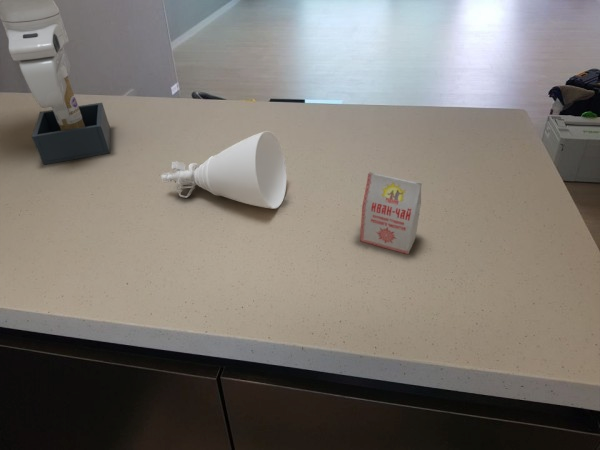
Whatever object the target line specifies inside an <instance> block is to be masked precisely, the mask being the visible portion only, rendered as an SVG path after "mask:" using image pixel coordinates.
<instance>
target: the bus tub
mask: <svg viewBox="0 0 600 450" xmlns="http://www.w3.org/2000/svg"><path fill="white" fill-rule="evenodd" d="M78 107H79V110H80V112H81V115H82V119H83V122H84V125H85V127H81V128H75V129H68V130H62V131H61V128H60V126H59V124H58V122H57V119H56V117H55V114H54V112H53V109H49V110H43V111H41V110H40V111H39V114H38V116H37V119H36V122H35V126H34V129H33V132H32V135H31V139H32V141H33V143H34V146H35V148H36V150H37V152H38V155H39V157H40V159H41V162H42V164H43V165H50V164H55V163H56V164H57V163H61V162H67V161H72V160H79V159H84V158H90V157H96V156H101V155H107V154H110V153H111V126H110V123H109V120H108V117H107V114H106V110H105V108H104V104H103V102H97V103H90V104H83V105H78Z"/></svg>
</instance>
